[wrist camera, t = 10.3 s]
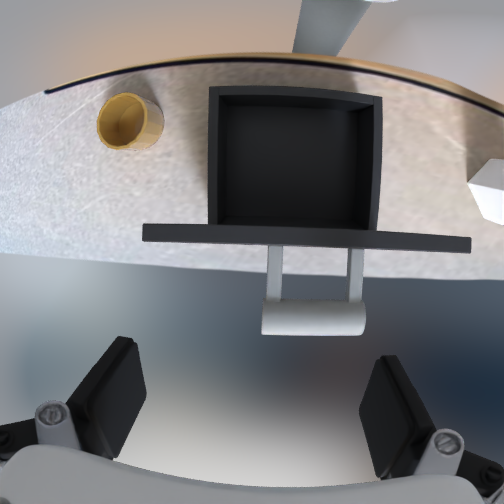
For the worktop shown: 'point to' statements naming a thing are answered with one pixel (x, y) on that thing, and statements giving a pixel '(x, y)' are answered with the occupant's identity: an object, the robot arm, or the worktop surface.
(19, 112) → the worktop surface
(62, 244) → the worktop surface
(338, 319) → the lid
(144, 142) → the cup
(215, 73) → the worktop surface
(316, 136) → the dark grey storage bin
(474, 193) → the milk
